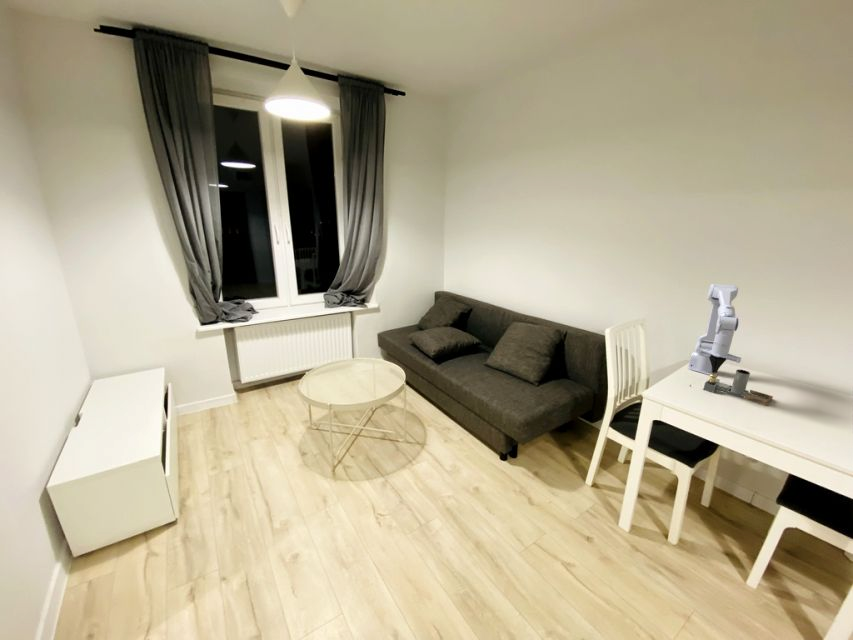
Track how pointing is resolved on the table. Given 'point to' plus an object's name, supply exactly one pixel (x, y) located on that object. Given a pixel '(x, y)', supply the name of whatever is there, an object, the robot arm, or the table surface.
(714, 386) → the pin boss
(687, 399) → the table surface
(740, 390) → the planter
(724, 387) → the grey notched block
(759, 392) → the frame
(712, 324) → the robot arm
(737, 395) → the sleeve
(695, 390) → the table surface
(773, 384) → the table surface
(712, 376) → the brass knob
